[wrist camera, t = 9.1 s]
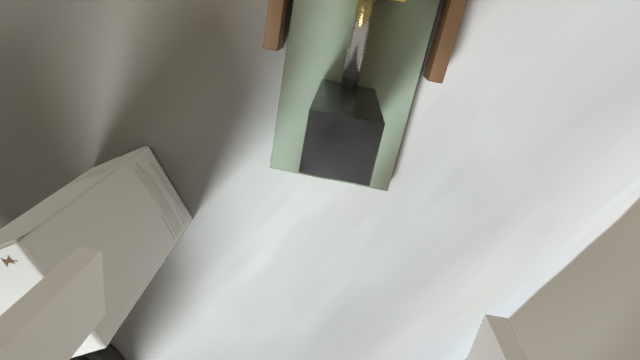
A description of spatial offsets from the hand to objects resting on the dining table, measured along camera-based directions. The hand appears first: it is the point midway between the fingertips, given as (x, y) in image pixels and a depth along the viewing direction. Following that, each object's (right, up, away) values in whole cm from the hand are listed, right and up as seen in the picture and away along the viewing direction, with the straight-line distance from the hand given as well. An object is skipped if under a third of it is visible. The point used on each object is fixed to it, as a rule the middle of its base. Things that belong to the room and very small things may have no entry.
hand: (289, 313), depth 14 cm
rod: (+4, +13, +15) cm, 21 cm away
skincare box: (-15, +3, +23) cm, 28 cm away
